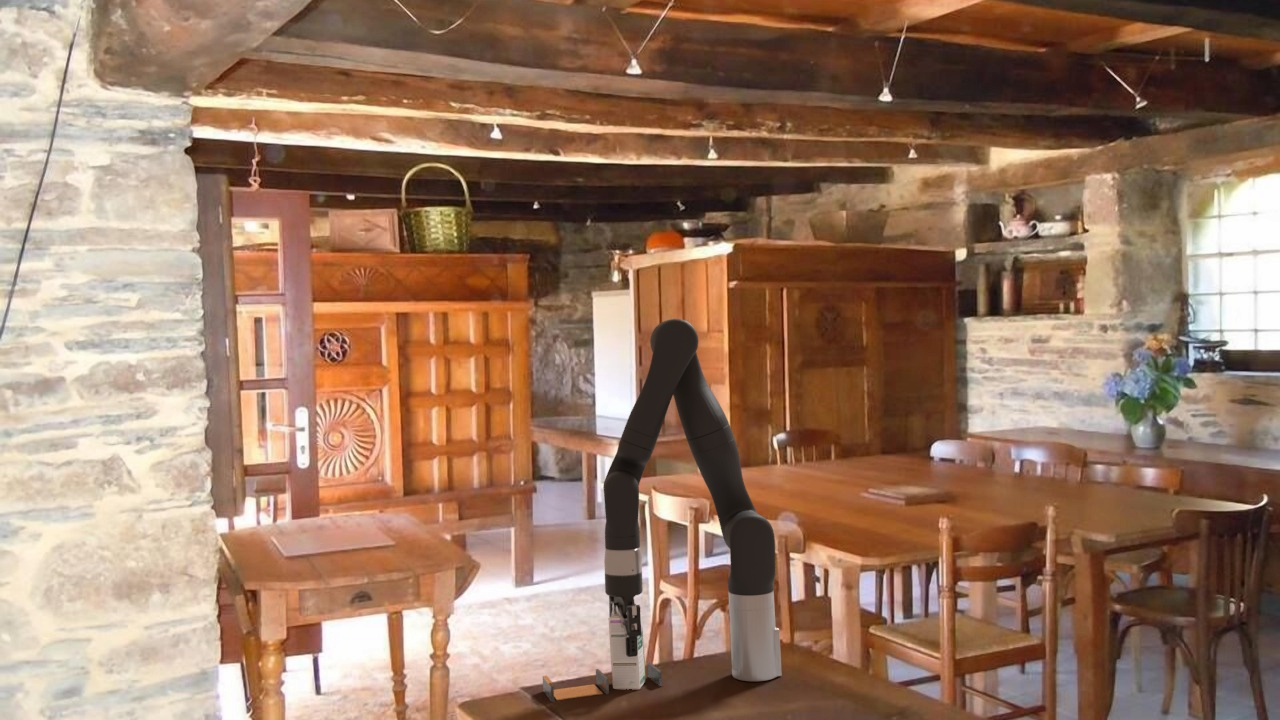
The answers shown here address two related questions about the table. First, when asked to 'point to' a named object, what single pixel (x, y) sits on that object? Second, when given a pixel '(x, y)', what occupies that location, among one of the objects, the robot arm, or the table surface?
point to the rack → (591, 689)
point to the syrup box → (625, 657)
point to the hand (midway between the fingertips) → (625, 651)
